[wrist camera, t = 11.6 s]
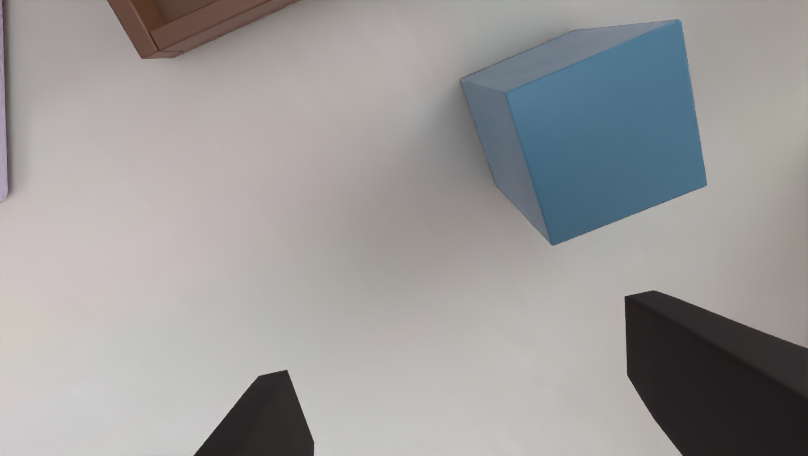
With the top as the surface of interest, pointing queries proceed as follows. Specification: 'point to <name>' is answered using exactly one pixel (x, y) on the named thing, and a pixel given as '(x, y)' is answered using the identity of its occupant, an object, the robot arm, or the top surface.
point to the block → (590, 126)
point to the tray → (186, 22)
